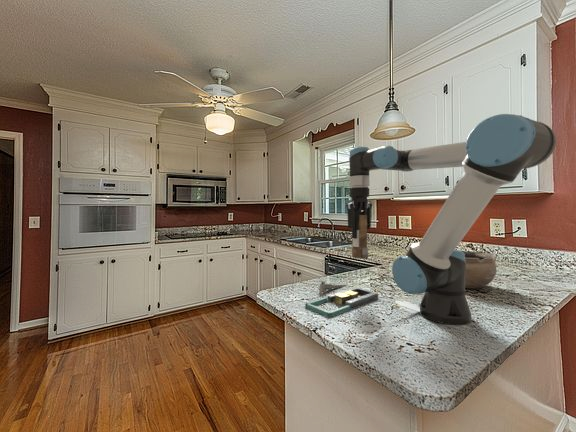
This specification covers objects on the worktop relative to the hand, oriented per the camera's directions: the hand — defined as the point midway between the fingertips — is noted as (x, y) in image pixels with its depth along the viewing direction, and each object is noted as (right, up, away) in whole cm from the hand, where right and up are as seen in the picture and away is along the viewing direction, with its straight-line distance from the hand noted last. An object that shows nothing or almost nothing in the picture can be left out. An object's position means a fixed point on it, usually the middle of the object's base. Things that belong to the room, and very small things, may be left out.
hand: (359, 245), depth 108 cm
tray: (-15, -22, -11) cm, 29 cm away
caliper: (-7, -22, +13) cm, 26 cm away
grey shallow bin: (-3, -22, -2) cm, 22 cm away
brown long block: (0, -5, 0) cm, 5 cm away
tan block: (-8, -21, -6) cm, 23 cm away
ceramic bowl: (+54, -21, +17) cm, 60 cm away
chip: (-4, -21, -3) cm, 21 cm away
